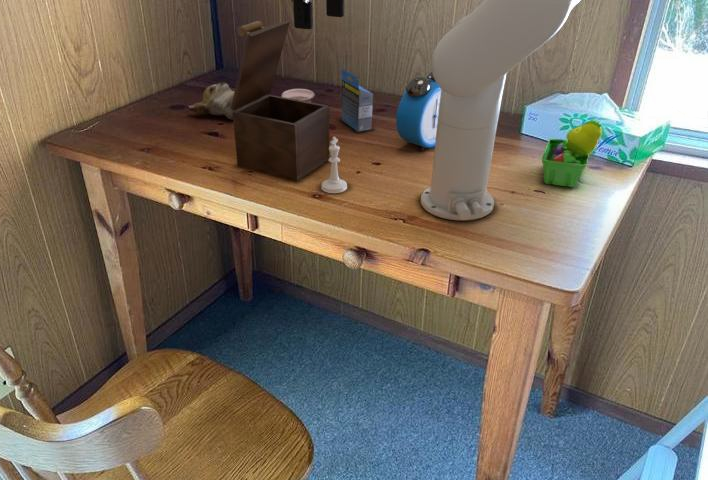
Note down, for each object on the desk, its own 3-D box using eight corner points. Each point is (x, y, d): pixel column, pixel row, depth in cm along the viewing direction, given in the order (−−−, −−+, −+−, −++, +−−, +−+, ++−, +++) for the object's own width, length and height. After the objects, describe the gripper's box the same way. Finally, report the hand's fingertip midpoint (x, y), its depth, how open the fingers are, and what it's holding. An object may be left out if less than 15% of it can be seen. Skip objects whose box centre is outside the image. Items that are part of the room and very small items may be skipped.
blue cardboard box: (372, 130, 139) (374, 75, 132) (357, 132, 138) (358, 77, 131) (355, 117, 146) (356, 65, 139) (340, 120, 145) (340, 67, 138)
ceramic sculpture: (224, 89, 139) (179, 83, 147) (230, 126, 143) (185, 118, 151) (255, 78, 145) (210, 72, 154) (259, 114, 150) (215, 106, 158)
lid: (290, 21, 116) (268, 8, 117) (251, 35, 108) (228, 21, 109) (270, 93, 127) (251, 80, 128) (233, 110, 118) (213, 97, 120)
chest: (329, 159, 126) (329, 105, 120) (297, 181, 118) (294, 125, 112) (272, 146, 133) (269, 94, 127) (237, 166, 125) (232, 112, 119)
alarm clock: (416, 157, 126) (422, 84, 118) (392, 149, 130) (396, 77, 121) (453, 139, 133) (461, 69, 125) (430, 132, 137) (436, 63, 129)
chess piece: (352, 186, 116) (353, 136, 110) (336, 195, 113) (336, 144, 107) (332, 179, 119) (332, 130, 113) (315, 188, 116) (314, 138, 110)
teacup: (273, 113, 151) (271, 88, 147) (321, 110, 151) (321, 85, 148) (276, 130, 141) (274, 104, 137) (327, 127, 141) (327, 101, 138)
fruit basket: (544, 161, 122) (555, 106, 116) (591, 168, 119) (606, 111, 112) (535, 185, 114) (548, 126, 107) (587, 193, 111) (603, 133, 104)
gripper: (306, -95, 84) (310, 35, 94) (367, -104, 96) (365, 13, 105) (262, -95, 88) (270, 31, 97) (326, -103, 99) (328, 10, 109)
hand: (319, 22), depth 101 cm, fingers open, 9 cm apart
